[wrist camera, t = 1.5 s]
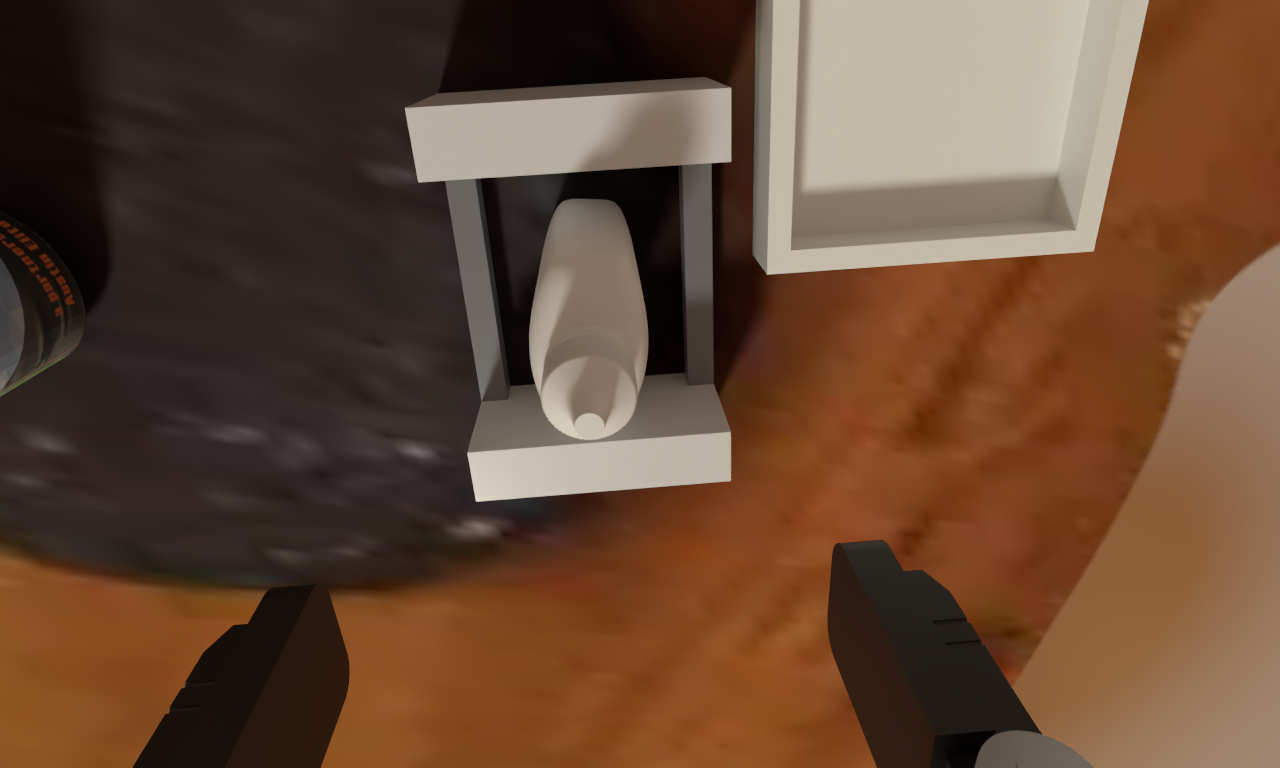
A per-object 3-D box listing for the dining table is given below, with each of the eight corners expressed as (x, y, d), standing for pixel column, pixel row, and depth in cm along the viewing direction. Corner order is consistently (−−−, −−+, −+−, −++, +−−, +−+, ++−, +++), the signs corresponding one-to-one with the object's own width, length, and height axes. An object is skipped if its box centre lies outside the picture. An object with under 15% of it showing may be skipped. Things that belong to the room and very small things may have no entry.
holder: (438, 93, 25) (405, 108, 20) (705, 76, 25) (731, 87, 21) (492, 431, 30) (476, 501, 26) (709, 414, 31) (730, 480, 26)
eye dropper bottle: (502, 305, 28) (449, 478, 17) (573, 175, 26) (563, 278, 15) (602, 357, 29) (611, 549, 18) (677, 235, 27) (736, 371, 17)
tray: (759, -280, 21) (780, -317, 19) (1155, -298, 21) (1222, -336, 19) (752, 254, 28) (767, 274, 26) (1053, 233, 28) (1093, 251, 26)
